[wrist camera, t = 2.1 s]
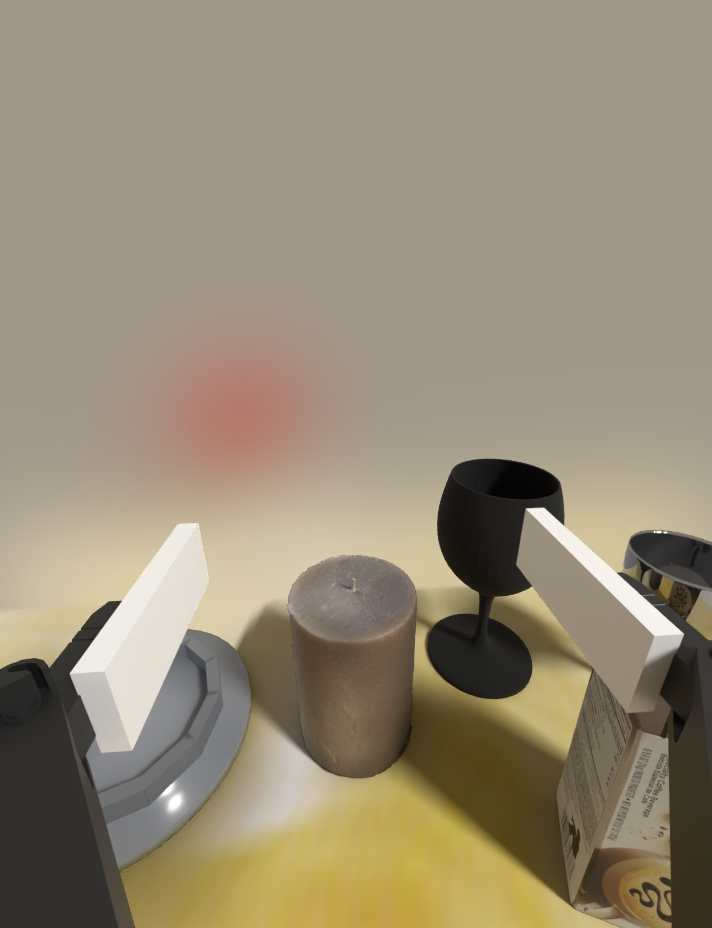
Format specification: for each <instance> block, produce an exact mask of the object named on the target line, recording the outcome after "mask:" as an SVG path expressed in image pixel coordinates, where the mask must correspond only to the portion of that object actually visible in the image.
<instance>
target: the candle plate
mask: <svg viewBox="0 0 712 928" xmlns="http://www.w3.org/2000/svg"><path fill="white" fill-rule="evenodd" d="M250 712H251V689H250V682H249V676H248V673H247V669H246V666H245V664H244V662H243V660H242V658H241V656H240V655H239V654H238V652H237V651H236V650H235V649H234V648H233V647H232V646H231V645H230V644H229V643H227V642H226V641H224V640H222V639H221V638H219V637H217V636H215V635H213V634H210V633H206V632H203V631H197V630H191V629H187V631H186V633H185V636H184V638H183V640H182V642H181V644H180V647H179V649H178V651H177V653H176V655H175V658H174V660H173V662H172V664H171V666H170V669H169V671H168V673H167V675H166V677H165V680H164V682H163V684H162V686H161V688H160V691H159V693H158V695H157V697H156V699H155V702H154V704H153V706H152V708H151V710H150V713H149V715H148V717H147V719H146V722H145V724H144V726H143V728H142V730H141V733H140V735H139V737H138V739H137V741H136V744H135V746H134V748H133V750H132V751H120V752H107V753H101V751H100V749H99V746H98V744H97V741H96V739H94V741H93V743H92V744H91V746H90V748H89V750H88V752H87V753H86V757H87V759H88V762H89V765H90V769H91V772H92V776H93V779H94V783H95V786H96V790H97V794H98V797H99V801H100V804H101V808H102V811H103V815H104V819H105V822H106V826H107V829H108V833H109V836H110V840H111V844H112V847H113V851H114V854H115V858H116V861H117V865H118V869H119V871H121V870H123V869H125V868H127V867H128V866H130V865H132V864H134V863H136V862H137V861H139V860H141V859H142V858H144V857H145V856H146V855H148V854H149V853H151V852H152V851H154V850H155V849H157V848H158V847H160V846H161V845H162V844H163V843H165V842H166V841H167V840H168V839H169V838H171V837H172V836H173V835H174V834H175V833H177V832H178V831H179V830H180V829H181V828H182V827H183V826H184V825H185V824H186V823H187V822H188V821H189V820H190V819H191V818H192V817H193V816H194V815H195V814H196V813H197V812H198V811H199V810H200V809H201V808H202V806H203V805H204V804H205V803H206V802H207V800H208V799H209V798H210V797H211V796H212V794H213V793H214V792H215V790H216V789H217V788H218V786H219V785H220V783H221V782H222V780H223V779H224V777H225V776H226V774H227V773H228V771H229V769H230V767H231V766H232V764H233V762H234V760H235V758H236V756H237V754H238V752H239V749H240V747H241V745H242V743H243V740H244V737H245V734H246V730H247V727H248V723H249V718H250Z"/></svg>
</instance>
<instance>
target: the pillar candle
mask: <svg viewBox="0 0 712 928" xmlns="http://www.w3.org/2000/svg"><path fill="white" fill-rule="evenodd" d="M288 597H289V598H288V599H289V600H288V602H289V604H288V605H287V606H288V608H287V609H288V611H289V613H290V623H291V631H292V639H293V644H292V647H293V652H294V663H295V673H296V683H297V693H298V702H299V715H300V724H301V732H302V736H303V738H304V741H305V746H306V748H307V749H308V751H309V753H310V754H311V756H312V757H313V758H314V759H315V761H317V763H318V764H320V765H321V766H322V767H323V768H325V769H326V770H328V771H329V772H331V773H335V774H337V775H339V776H345V777H350V778H367V777H372V776H375V775H376V774H380V773H382V772H383V771H385V770H386V769H388V768H390V767H391V766H392V764H394V763H395V762H396V761H397V760H398V759H399V758H400V756H401V755H402V754H403V752H404V750H405V748H406V746H407V744H408V742H409V739H410V735H411V730H412V726H411V709H412V681H413V671H414V648H415V632H416V609H417V597H416V591H415V587H414V584H413V583H412V581H411V579H410V578H409V576H408V575H407V574H406V573H405V572H404V571H403V570H401V569H400V568H398V567H397V566H395V565H394V564H392V563H390V562H388V561H385V560H382V559H378V558H375V557H368V556H361V555H357V556H354V555H352V556H346V555H342V556H338V557H332V558H328V559H326V560H325V561H321V563H319V564H317V565H315V566H312V567H310V568H308V570H307V571H305V572H303V573H302V574H301V575H300V576H299V578H298V579H297V581H296V582H295V583H294V584H293V585H292V588H291V591H290V594H289V596H288Z"/></svg>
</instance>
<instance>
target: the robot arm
mask: <svg viewBox="0 0 712 928" xmlns="http://www.w3.org/2000/svg"><path fill="white" fill-rule="evenodd" d="M516 565H517V566H518V568H519V569H520V570H521V572H522V573H523V574H524V576H525V577H526V578H527V580H528V581H529V582H530V584H531V585H532V586H533V588H534V589H535V590H536V592H537V593H538V594H539V596H540V597H541V599H542V600H543V601H544V603H545V604H546V605H547V607H548V608H549V609H550V611H551V612H552V613H553V615H554V616H555V617H556V619H557V620H558V621H559V623H560V624H561V625H562V627H563V628H564V629H565V631H566V632H567V633H568V635H569V636H570V637H571V639H572V640H573V641H574V643H575V644H576V645H577V647H578V648H579V649H580V651H581V652H582V653H583V655H584V656H585V657H586V659H587V660H588V662H589V663H590V664H591V666H592V667H593V668H594V670H595V671H596V672H597V674H598V675H599V676H600V678H601V679H602V680H603V682H604V683H605V684H606V686H607V687H608V688H609V690H610V691H611V692H612V694H613V695H614V696H615V698H616V699H617V700H618V702H619V703H620V704H621V706H622V707H623V708H624V710H625V711H626V712H627V713H636V712H649V711H654V709H655V707H656V704H657V702H658V699H659V697H660V695H661V696H662V697H663V698H664V700H665V701H666V702H667V703H668V704H669V705H670V707H671V710H670V712H669V715H668V717H667V720H666V722H665V724H664V727H663V729H662V732H661V735H660V737H662V738H664V739H665V738H666V736H667V733H668V756H669V812H670V868H671V924H672V928H712V640H708V639H706V638H705V637H704V636H703V635H702V634H701V633H700V632H698V631H697V630H696V629H695V628H694V627H693V626H691V625H690V624H689V623H688V622H687V621H686V620H684V619H683V618H682V617H681V616H680V615H679V614H677V613H676V612H675V611H674V610H673V609H672V608H670V607H669V606H666V605H665V602H663V601H662V600H661V599H660V598H659V597H658V596H655V595H654V593H653V592H652V591H651V590H649V589H648V588H647V587H646V586H645V585H644V584H642V583H641V582H640V581H638V580H636V579H634V578H633V577H631V576H629V575H627V574H625V573H624V572H620V573H616V572H615V571H614V570H612V569H611V568H610V567H609V566H608V565H607V564H606V563H605V562H604V561H602V560H601V559H600V558H599V557H598V556H597V555H596V554H595V553H594V552H592V551H591V550H590V549H589V548H588V547H587V546H586V545H585V544H584V543H582V542H581V541H580V540H579V539H578V538H577V537H576V536H575V535H574V534H572V533H571V532H570V531H569V530H568V529H567V528H566V527H565V526H564V525H563V524H561V523H560V522H559V521H558V520H557V519H556V518H555V517H554V516H553V515H551V514H550V513H549V512H548V511H547V510H546V509H545V508H527V509H526V510H525V516H524V522H523V528H522V534H521V540H520V546H519V552H518V557H517V563H516ZM208 583H209V577H208V572H207V566H206V561H205V556H204V551H203V545H202V540H201V535H200V530H199V525H198V523H190V524H178V525H177V527H176V528H175V529H174V530H173V532H172V533H171V535H170V536H169V537H168V539H167V540H166V541H165V543H164V544H163V546H162V547H161V549H160V550H159V551H158V553H157V554H156V555H155V557H154V558H153V560H152V561H151V562H150V564H149V565H148V566H147V568H146V569H145V570H144V572H143V573H142V575H141V576H140V577H139V579H138V580H137V581H136V583H135V584H134V586H133V587H132V588H131V590H130V591H129V593H128V594H127V595H126V597H125V598H124V599H123V601H110V602H108V603H106V604H105V605H104V606H102V607H101V608H100V609H98V610H97V611H96V612H94V613H93V614H92V615H91V616H90V618H89V619H88V620H87V621H86V623H85V624H84V625H83V626H82V628H81V631H78V633H77V634H76V635H75V637H74V638H73V639H72V642H71V643H69V644H68V645H67V647H66V648H65V649H64V650H63V652H62V653H61V654H60V655H59V657H58V658H57V659H56V660H55V662H54V663H53V664H52V665H51V667H50V668H49V667H48V665H47V664H46V663H45V661H44V660H41V659H36V658H32V659H25V660H21V661H18V662H15V663H12V664H10V665H7V666H5V667H4V668H2V669H0V928H135V926H134V922H133V919H132V915H131V911H130V908H129V904H128V901H127V897H126V894H125V890H124V886H123V883H122V879H121V876H120V872H119V869H118V865H117V861H116V858H115V854H114V851H113V847H112V844H111V840H110V836H109V833H108V829H107V826H106V822H105V819H104V815H103V811H102V808H101V804H100V801H99V797H98V794H97V790H96V786H95V783H94V779H93V776H92V772H91V769H90V765H89V762H88V759H87V757H86V753H87V752H88V750H89V748H90V746H91V744H92V743H93V741H94V739H96V741H97V744H98V746H99V749H100V751H101V753H107V752H120V751H132V750H133V748H134V746H135V744H136V741H137V739H138V737H139V735H140V733H141V730H142V728H143V726H144V724H145V722H146V719H147V717H148V715H149V713H150V710H151V708H152V706H153V704H154V702H155V699H156V697H157V695H158V693H159V691H160V688H161V686H162V684H163V682H164V680H165V677H166V675H167V673H168V671H169V669H170V666H171V664H172V662H173V660H174V658H175V655H176V653H177V651H178V649H179V647H180V644H181V642H182V640H183V638H184V636H185V633H186V631H187V629H188V627H189V625H190V622H191V620H192V618H193V616H194V613H195V611H196V609H197V607H198V605H199V602H200V600H201V598H202V596H203V593H204V591H205V589H206V587H207V585H208Z"/></svg>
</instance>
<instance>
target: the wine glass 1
mask: <svg viewBox="0 0 712 928" xmlns="http://www.w3.org/2000/svg"><path fill="white" fill-rule="evenodd" d="M527 508H545V509H546V510H547V511H548V512H549V513H550V514H551V515H553V516H554V517H555V518H556V519H557V520H558V521H559V522H560V523H561V524H563V525H564V503H563V494H562V488H561V484H560V482H559V480H558V479H557V478H556V477H555V476H554V475H552V474H551V473H549V472H547V471H545V470H543V469H540V468H538V467H535V466H533V465H529V464H526V463H521V462H517V461H511V460H502V459H476V460H470V461H465V462H462V463H460V464H458V465H456V466H455V467H454V468H453V469H452V471H451V474H450V476H449V478H448V481H447V483H446V486H445V489H444V491H443V494H442V498H441V501H440V505H439V510H438V519H437V531H438V540H439V545H440V548H441V551H442V554H443V556H444V558H445V560H446V562H447V564H448V566H449V567H450V569H451V570H452V571H453V572H454V574H455V575H456V576H457V577H458V578H459V579H460V580H461V581H462V582H463V583H465V584H466V585H467V586H469V587H470V588H471V589H473V590H475V591H477V592H479V615H475V614H457V615H452V616H449V617H447V618H445V619H443V620H441V621H440V622H439V623H437V624H436V625H435V626H434V628H433V629H432V631H431V633H430V636H429V640H428V650H429V655H430V658H431V661H432V663H433V664H434V666H435V668H436V669H437V671H438V672H439V673H440V674H441V675H442V676H443V677H444V678H445V679H446V680H447V681H448V682H449V683H451V684H452V685H453V686H455V687H456V688H458V689H460V690H461V691H464V692H466V693H468V694H471V695H474V696H477V697H481V698H487V699H501V698H507V697H510V696H513V695H515V694H517V693H519V692H520V691H522V690H523V689H524V688H525V687H526V685H527V684H528V683H529V680H530V678H531V674H532V660H531V656H530V653H529V651H528V649H527V647H526V646H525V644H524V643H523V641H522V640H521V639H520V638H519V637H518V636H517V635H516V634H515V633H514V632H513V631H512V630H510V629H509V628H508V627H506V626H505V625H503V624H501V623H500V622H498V621H495V620H493V619H491V618H489V613H490V609H491V605H492V601H493V599H494V597H495V596H508V595H513V594H517V593H519V592H522V591H524V590H527V589H529V588H530V587H532V585H531V584H530V582H529V581H528V580H527V578H526V577H525V576H524V574H523V573H522V572H521V570H520V569H519V568H518V566H517V565H516V563H517V557H518V552H519V546H520V540H521V534H522V528H523V522H524V516H525V510H526V509H527Z"/></svg>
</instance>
